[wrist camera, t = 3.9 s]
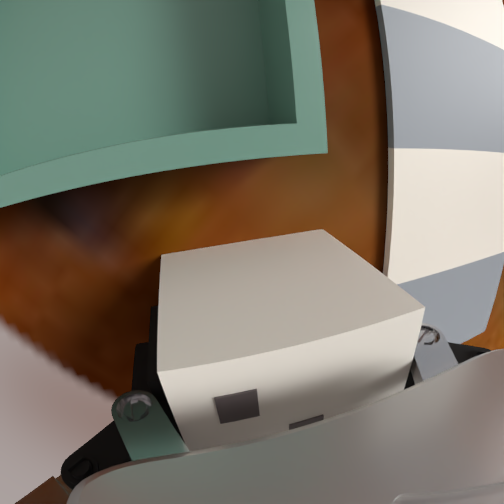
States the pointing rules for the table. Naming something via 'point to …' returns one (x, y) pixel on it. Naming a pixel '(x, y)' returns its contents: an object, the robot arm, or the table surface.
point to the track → (445, 156)
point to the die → (278, 336)
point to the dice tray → (152, 88)
